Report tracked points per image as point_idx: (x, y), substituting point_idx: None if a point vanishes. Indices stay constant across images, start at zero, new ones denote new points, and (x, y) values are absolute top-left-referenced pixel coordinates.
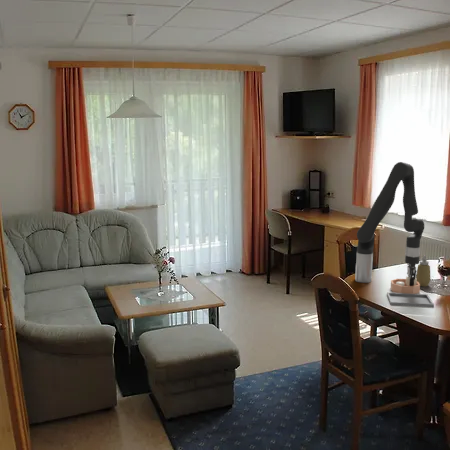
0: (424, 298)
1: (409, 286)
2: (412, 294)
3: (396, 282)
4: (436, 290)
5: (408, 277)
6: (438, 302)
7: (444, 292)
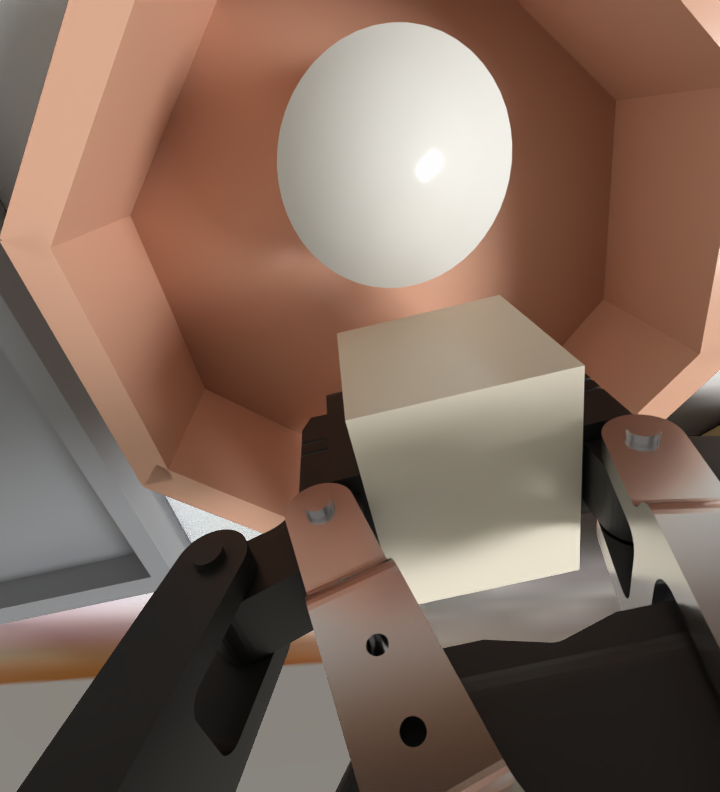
0: (94, 537)
1: (118, 420)
2: (53, 420)
3: (381, 32)
4: (531, 593)
5: (501, 439)
6: (93, 636)
7: None
